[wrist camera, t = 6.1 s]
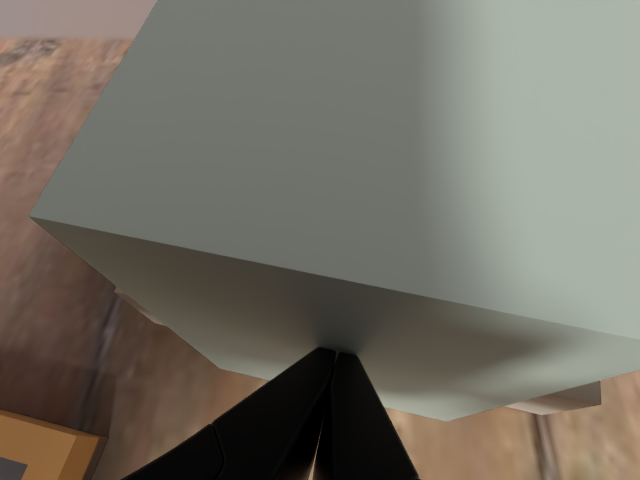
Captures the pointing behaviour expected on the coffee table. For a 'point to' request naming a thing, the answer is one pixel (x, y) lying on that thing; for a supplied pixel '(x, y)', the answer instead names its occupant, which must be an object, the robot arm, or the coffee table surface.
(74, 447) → the tray
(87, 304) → the coffee table surface
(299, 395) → the robot arm
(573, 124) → the sage block
